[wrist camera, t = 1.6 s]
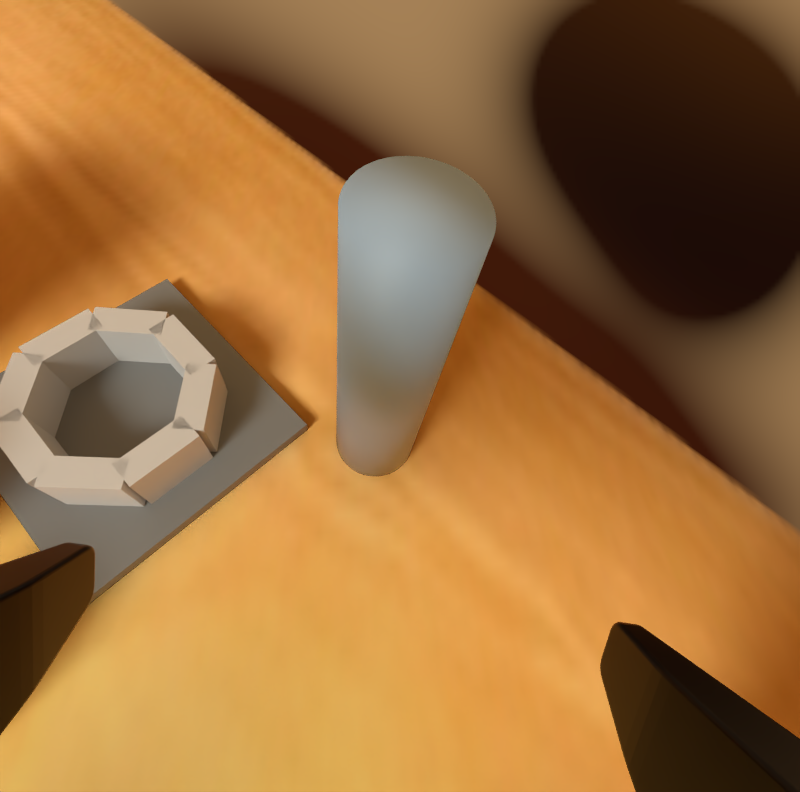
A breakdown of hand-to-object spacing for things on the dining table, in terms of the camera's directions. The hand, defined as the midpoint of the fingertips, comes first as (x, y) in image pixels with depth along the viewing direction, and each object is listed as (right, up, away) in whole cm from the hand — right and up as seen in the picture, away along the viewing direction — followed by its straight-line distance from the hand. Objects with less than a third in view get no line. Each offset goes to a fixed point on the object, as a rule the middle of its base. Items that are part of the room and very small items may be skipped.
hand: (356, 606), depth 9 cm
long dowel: (0, +2, +15) cm, 15 cm away
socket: (-11, +2, +14) cm, 18 cm away
